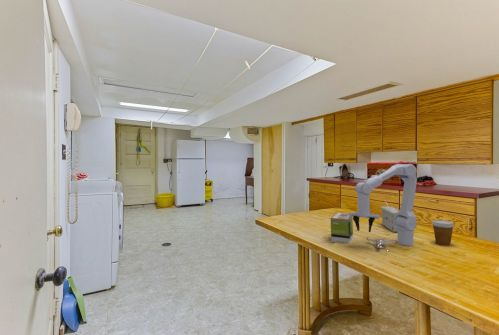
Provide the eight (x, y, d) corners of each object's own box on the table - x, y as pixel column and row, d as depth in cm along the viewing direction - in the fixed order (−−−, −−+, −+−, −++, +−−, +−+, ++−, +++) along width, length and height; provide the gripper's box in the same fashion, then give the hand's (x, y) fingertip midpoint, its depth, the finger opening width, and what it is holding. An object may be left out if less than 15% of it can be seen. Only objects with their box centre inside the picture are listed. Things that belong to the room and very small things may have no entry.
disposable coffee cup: (448, 241, 137) (448, 220, 136) (458, 247, 128) (457, 224, 127) (429, 240, 139) (428, 219, 139) (436, 246, 130) (436, 223, 130)
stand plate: (370, 243, 137) (370, 240, 137) (393, 246, 131) (393, 243, 131) (366, 251, 125) (366, 247, 125) (391, 255, 119) (391, 251, 119)
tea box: (336, 235, 153) (335, 212, 152) (353, 237, 147) (353, 213, 147) (330, 242, 140) (330, 217, 139) (349, 245, 135) (349, 218, 134)
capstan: (366, 242, 136) (366, 235, 136) (396, 246, 128) (395, 239, 128) (363, 248, 125) (363, 241, 125) (394, 254, 118) (394, 246, 118)
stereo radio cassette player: (406, 233, 154) (406, 201, 153) (392, 233, 155) (392, 201, 155) (392, 224, 174) (392, 196, 174) (380, 224, 176) (379, 196, 175)
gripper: (347, 205, 129) (347, 231, 129) (378, 207, 121) (378, 235, 121) (350, 203, 135) (350, 227, 135) (379, 205, 127) (380, 231, 127)
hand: (364, 231), depth 129 cm, fingers open, 5 cm apart
